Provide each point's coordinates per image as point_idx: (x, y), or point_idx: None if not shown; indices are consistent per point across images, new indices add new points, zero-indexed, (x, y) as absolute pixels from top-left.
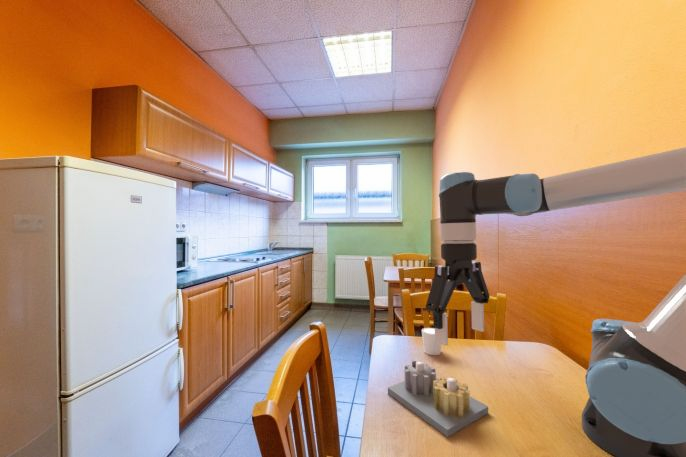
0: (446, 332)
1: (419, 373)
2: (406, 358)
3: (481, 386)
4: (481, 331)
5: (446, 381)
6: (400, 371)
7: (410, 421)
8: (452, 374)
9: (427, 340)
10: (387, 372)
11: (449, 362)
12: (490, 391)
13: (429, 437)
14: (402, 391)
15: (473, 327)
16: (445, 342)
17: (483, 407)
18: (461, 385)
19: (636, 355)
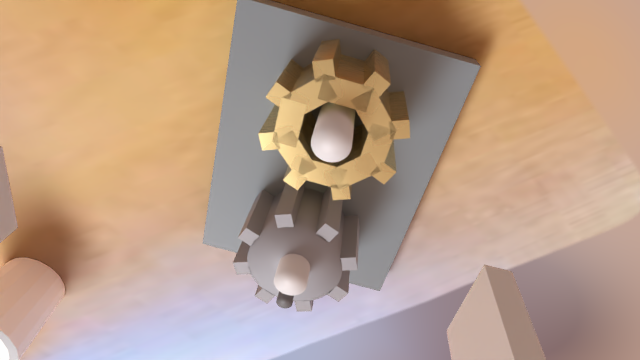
0: (528, 352)
1: (324, 256)
2: (152, 318)
3: (95, 71)
4: (2, 155)
5: (308, 162)
6: (239, 300)
7: (467, 175)
8: (112, 177)
9: (32, 323)
10: (275, 322)
11: (46, 213)
12: (98, 32)
13: (508, 102)
14: (369, 252)
15: (3, 225)
16: (517, 288)
17: (258, 9)
18: (293, 105)
19: None
